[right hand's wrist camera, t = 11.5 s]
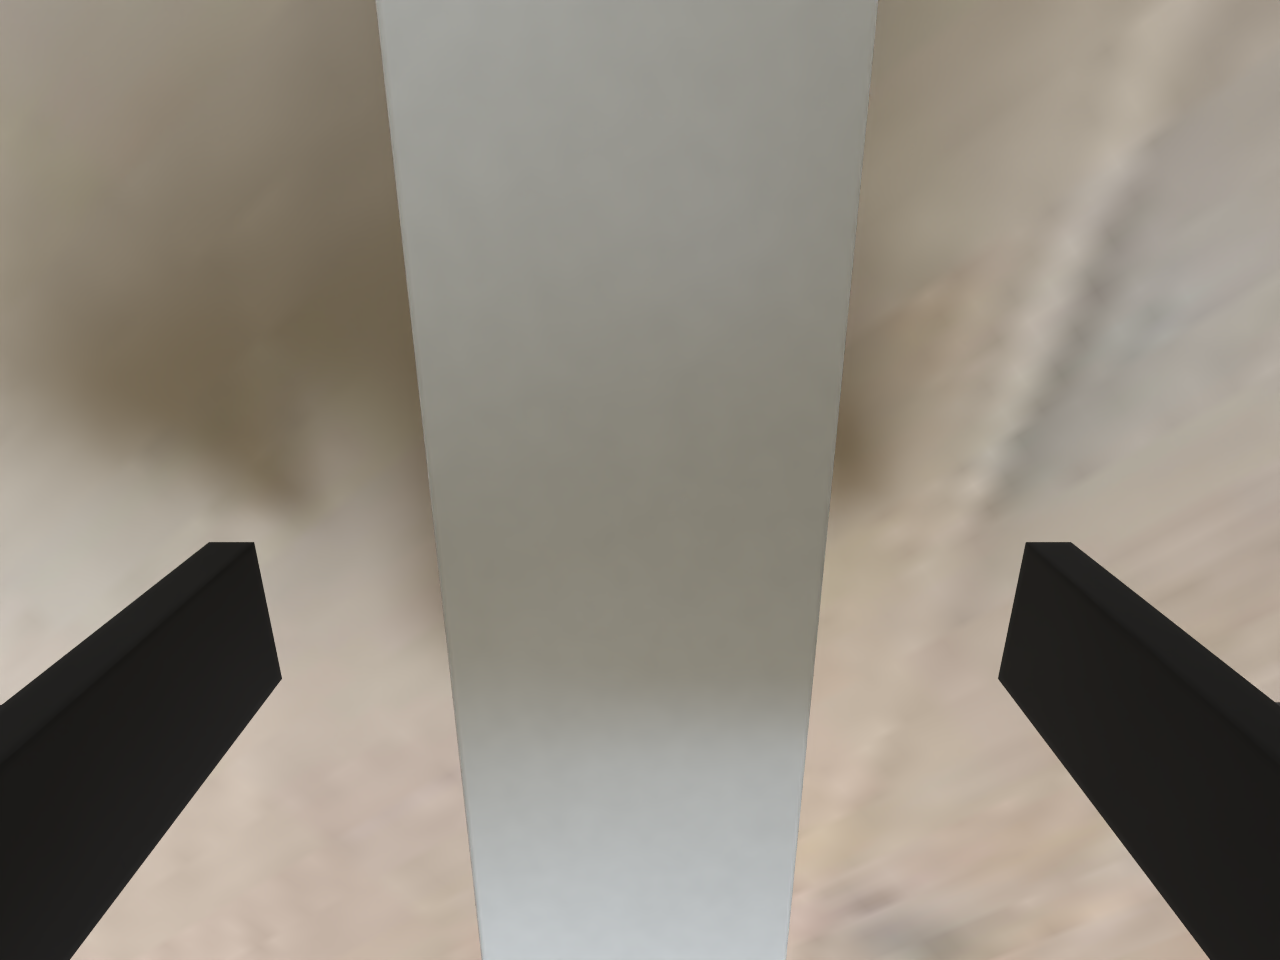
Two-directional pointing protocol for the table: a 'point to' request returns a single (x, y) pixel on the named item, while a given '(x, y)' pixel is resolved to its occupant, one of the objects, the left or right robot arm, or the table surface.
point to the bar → (630, 440)
